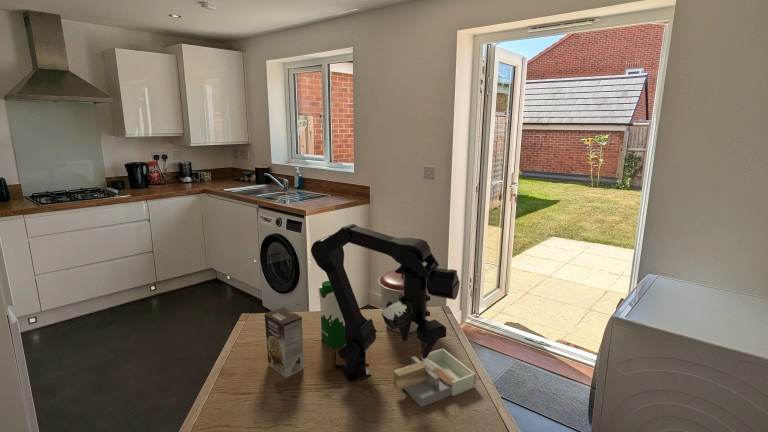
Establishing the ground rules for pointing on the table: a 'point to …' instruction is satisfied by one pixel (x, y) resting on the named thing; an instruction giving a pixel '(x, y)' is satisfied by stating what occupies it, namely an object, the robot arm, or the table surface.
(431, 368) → the tile cream
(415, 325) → the canister
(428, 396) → the grey stepped riser
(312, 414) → the table surface
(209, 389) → the table surface
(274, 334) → the coffee box
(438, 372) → the tile terracotta
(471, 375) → the tray
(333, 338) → the milk carton
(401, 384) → the scraper
